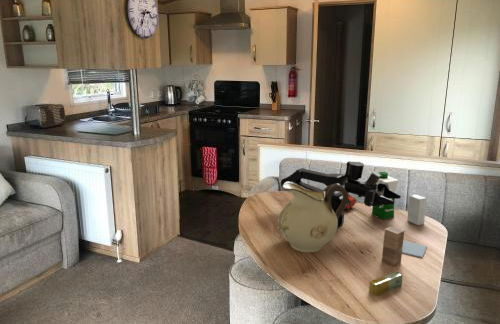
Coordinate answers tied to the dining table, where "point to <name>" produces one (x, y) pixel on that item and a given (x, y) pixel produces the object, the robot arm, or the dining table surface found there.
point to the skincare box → (416, 209)
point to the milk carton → (388, 210)
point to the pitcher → (310, 216)
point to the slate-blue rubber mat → (413, 249)
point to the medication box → (385, 283)
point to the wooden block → (392, 246)
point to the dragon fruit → (350, 202)
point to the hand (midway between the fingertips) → (397, 199)
